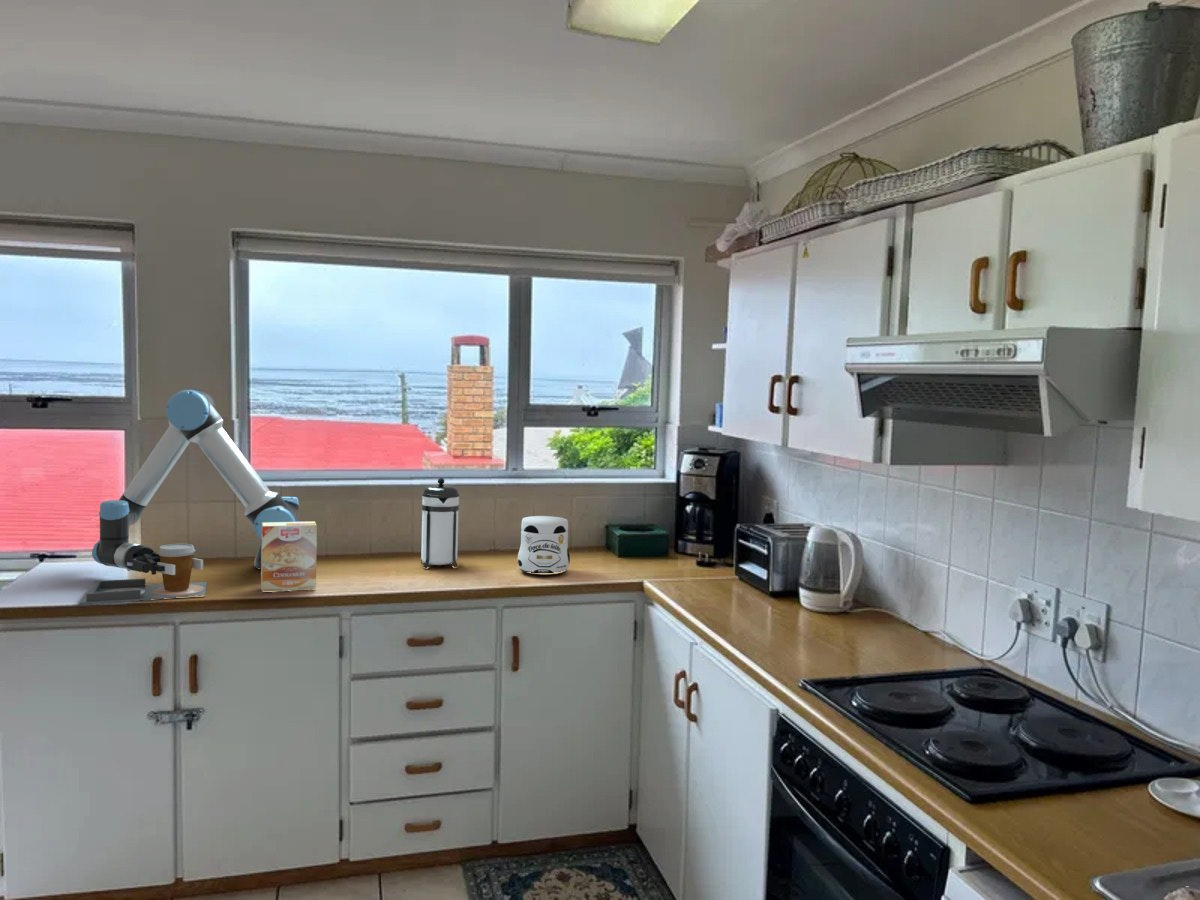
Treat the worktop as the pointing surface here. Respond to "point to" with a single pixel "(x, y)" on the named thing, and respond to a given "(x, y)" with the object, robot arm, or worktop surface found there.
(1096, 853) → the worktop surface
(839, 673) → the worktop surface
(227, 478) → the robot arm
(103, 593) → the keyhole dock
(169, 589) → the disposable coffee cup
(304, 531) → the coffeecake box
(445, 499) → the coffee press
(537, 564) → the doce de leite jar
